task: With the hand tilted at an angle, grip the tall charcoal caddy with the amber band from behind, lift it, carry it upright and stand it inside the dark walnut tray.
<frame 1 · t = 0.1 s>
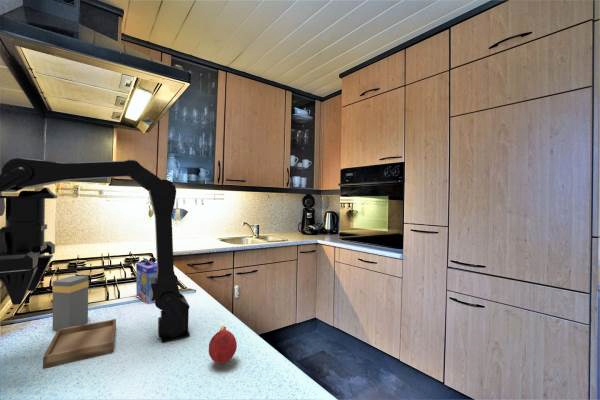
hand: (24, 296, 57), 15 cm above the countertop, tool pointing down, fingers open, 9 cm apart
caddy: (70, 326, 76), on the countertop
tray: (84, 345, 66), on the countertop
ink cartridge box: (149, 299, 97), on the countertop
onion: (222, 365, 59), on the countertop
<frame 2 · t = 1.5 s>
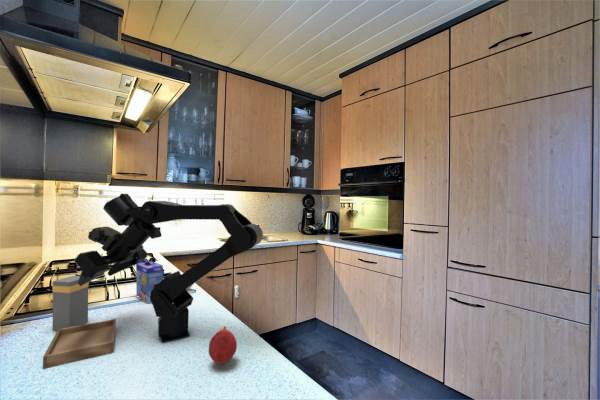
hand: (95, 279, 74), 13 cm above the countertop, tool tilted 45°, fingers open, 9 cm apart
nothing on the countertop moved.
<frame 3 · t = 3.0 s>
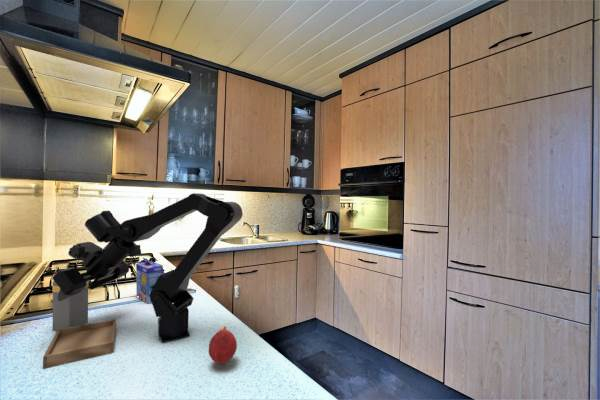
hand: (75, 293, 75), 9 cm above the countertop, tool tilted 45°, fingers open, 9 cm apart
nothing on the countertop moved.
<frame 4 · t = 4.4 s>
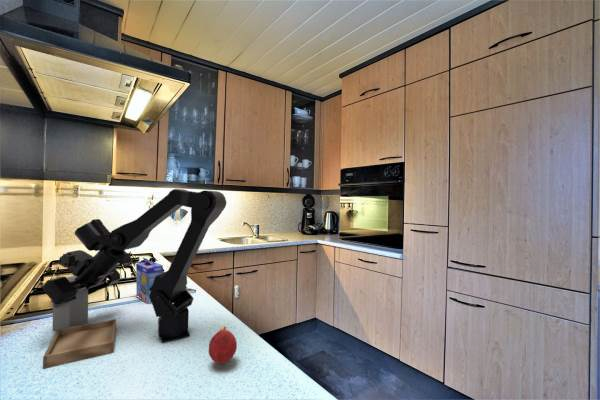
hand: (66, 302, 76), 7 cm above the countertop, tool tilted 45°, fingers open, 6 cm apart
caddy: (70, 326, 76), on the countertop, touching gripper
everything else where it was.
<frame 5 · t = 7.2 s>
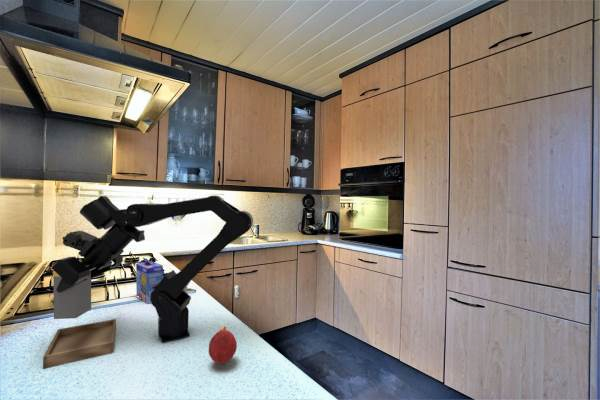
hand: (67, 287, 69), 13 cm above the countertop, tool tilted 45°, fingers closed on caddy, 5 cm apart
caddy: (73, 313, 70), point 6 cm above the countertop, touching gripper
everything else where it was.
when the fingers open (9 cm above the countertop, at t = 9.5 s): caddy stays where it is, resting on tray.
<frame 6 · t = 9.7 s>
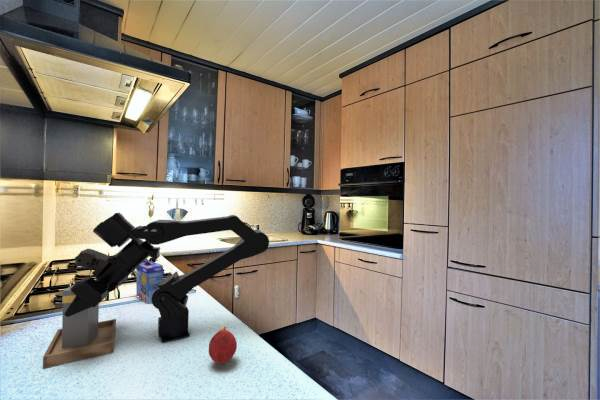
hand: (74, 309, 66), 9 cm above the countertop, tool tilted 45°, fingers open, 7 cm apart
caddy: (80, 341, 66), point 1 cm above the countertop, touching tray
everything else where it was.
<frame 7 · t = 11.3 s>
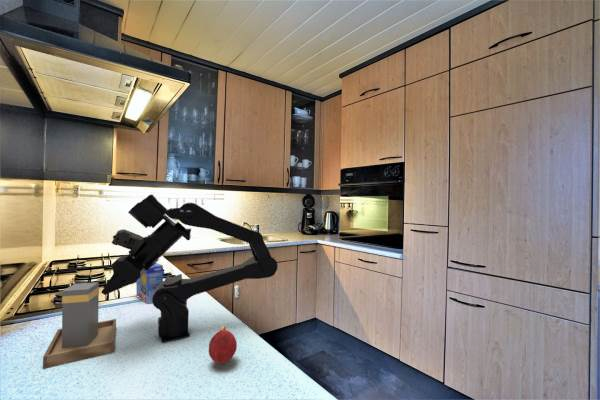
hand: (111, 287, 68), 13 cm above the countertop, tool tilted 45°, fingers open, 9 cm apart
nothing on the countertop moved.
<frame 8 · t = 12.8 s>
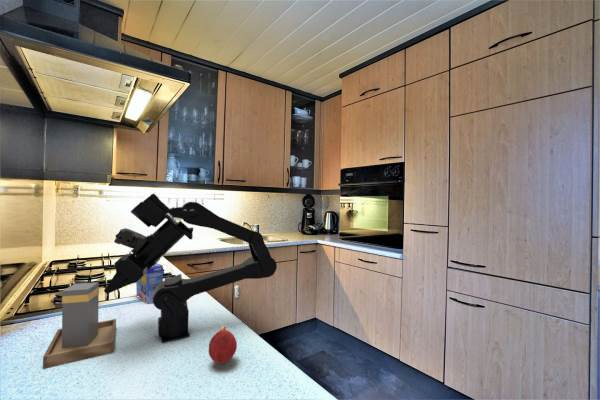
hand: (113, 286, 68), 14 cm above the countertop, tool tilted 45°, fingers open, 9 cm apart
nothing on the countertop moved.
at the end: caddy inside the target area on the tray (0.9 cm from its centre), point 1.0 cm above the tray's base; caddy tilted 0°; the gripper is holding nothing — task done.
